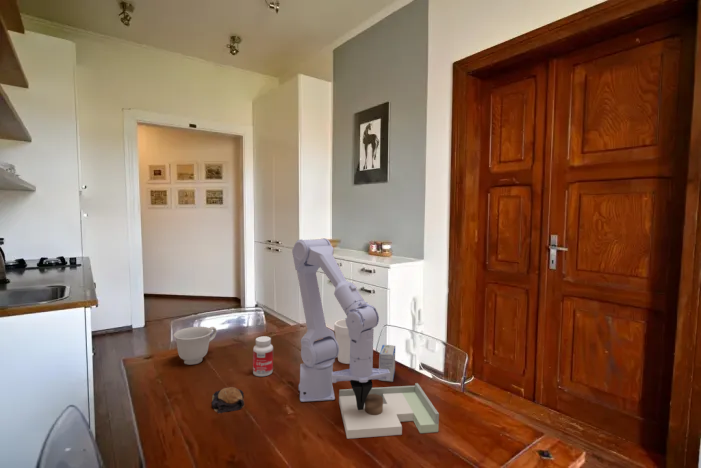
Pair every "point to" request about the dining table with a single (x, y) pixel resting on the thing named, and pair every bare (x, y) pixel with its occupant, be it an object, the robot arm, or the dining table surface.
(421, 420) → the box
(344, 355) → the foam cup
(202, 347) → the teacup
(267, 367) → the pill bottle
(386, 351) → the medicine box
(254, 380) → the dining table surface
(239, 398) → the tan black low dome
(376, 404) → the brown wooden cylinder
